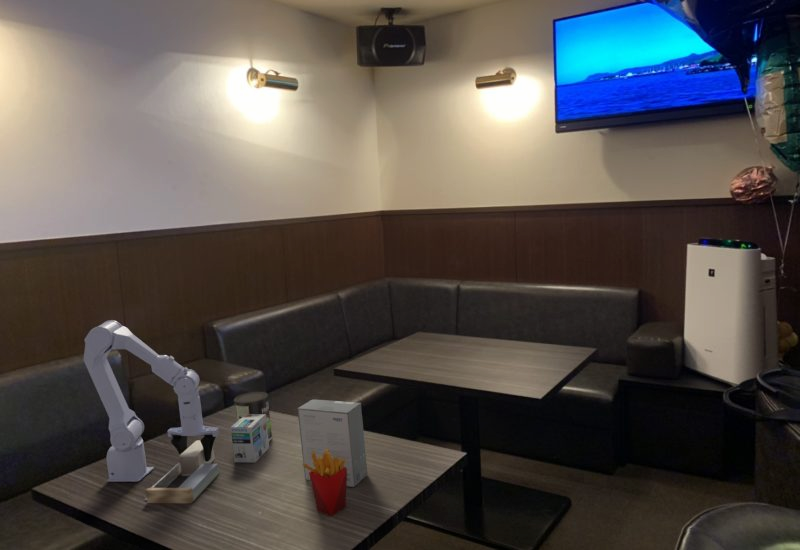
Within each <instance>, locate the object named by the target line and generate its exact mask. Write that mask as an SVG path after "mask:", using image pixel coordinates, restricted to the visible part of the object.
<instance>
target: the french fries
mask: <svg viewBox="0 0 800 550" xmlns="http://www.w3.org/2000/svg"><path fill="white" fill-rule="evenodd" d="M329 451H330V450H328V449H326V451H325V452H323V457H322V458H321V457H318V458H317V459H316V455H315V452H314V451H313V452H311V455H312V458H313V461H314V463H313V465H314V466H315V469H313V468H311V467H310V466H308V465H307V464H305V463H302V464H301V466H302V467H303V468H304V467H305V468H307V469H308V470H310V472H309V475H310V479H311V480H310V483H311V484H310V485H311V487H312V494H313V497H314V501H315V505H316V506H315V507H316V510H317V511H318V512H319V513H323V514H325V515H326V516H329V517H333V516H335V515H336V514H338V513H339V512H340V511H342V510H344V509H346V508H347V487H348V486H347V468H345V467H343V466H344V462H345V458H342V459H341V460H340V461H339V460H338V459H337V458H338V457H337V455H336V456H334V462H333V459H332V457H331V455H329ZM338 461H339V462H338Z"/></svg>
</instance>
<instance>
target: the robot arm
mask: <svg viewBox="0 0 800 550" xmlns="http://www.w3.org/2000/svg"><path fill="white" fill-rule="evenodd" d="M112 350H126V351H128V352H130V353H131V354H133V355H134V356H135V357H138V358H139V359H140V360H142V361H143V362H145V363H146V364H149V366H150V367H151V372H152V373H153V374H155V375H156V376H158V377H159V378H161V379H162V380H163V381H165V383H167V384H169V385H170V386H172V387H173V391H174V393H175V394H176V395H177V399H178V400H177V402H178V408H179V417H180V427H170V428H169V429H168V430H167V437H168V438H172V439H170V443H171V444H172V446H174V448H175V449H176V451H177V452H178V454H179V455H180V454H182V453H183V452H184V451H185V450H186V449H187V448H188V437H202V438H201V439H200V442H201V444H202V446H203V450H204V456H205V461H209V460H210V459H211V453H212V447H213V448H214V443H215V440H216V437H218V436H219V434H220V430H219V429H220V428H219V427H215V426H207V425H204V422H203V414H202V413H203V412H202V406H201V398H200V397H201V396H200V391H199V387H198V386H199V384H200V381H201V380H200V376H199V374H198V373H197V372H196V371H195V370H193V369H189V368H188V367H187V366H185V367H184V366H182V365H181V364H179V363H178V361H176V360H175V357H173V356H172V355H170V356H169V355H167V354H158V353H157V352H156V351H155V350H154V349H152V348H151V347H150V346H149V345H147V344H146V343H145V342H143V341H142V340H141V339H140V338H139V337H137V336H136V335H135V334H134V333H132V331H130V329H129V328H128V327H126V326H124V325H122V324H121V323H120V322H118V321H117V320H113V319H111V320H106V321H104V322H102V324H100V325H98V326H95V327H94V328H93V327H92V329H91V330H90V331H88V334H86V336H85V337H84V353H83V362H84V364H85V366H86V369H87V372H88V374H89V376H90V378H91V380H92V382H93V385H94V387H95V389H96V391H97V393H98V396H99V398H100V401H101V402H102V405H103V407H104V408H105V411H106V413H107V416H108V418H109V421H108V431H109V433H110V441H109V442H110V444H111V446H110V447H109V449H108V450H107V453H106V465H107V472H108V479H107V482H109V483H111V482H115V483H117V482H118V483H119V482H120V483H121V482H122V483H123V482H124V483H126V482H127V483H128V482H133V483H134V482H136V483H137V482H140V481H141V480H142V479H143V478H145V477H146V476H147V475H148V474H150V472H152V471H153V470H154V469H155V468H154V466H147V459H146V458H147V457H146V452H145V445H144V444H145V443H144V440H143V438H142V435H143V433H144V432H145V431H144V430H145V424H144V422H143V421H142V419H140V418H139V417H138V415H136V412H135V411H134V410H132V409H130V408H129V405H128V403H127V401H126V399H125V397H124V395H123V392H122V390H121V388H120V385H119V383H118V380H117V379H116V376H115V374H114V372H113V369H112V367H111V364H110V363H109V360H108V356H109V354H110V352H111V351H112Z"/></svg>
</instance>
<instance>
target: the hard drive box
mask: <svg viewBox="0 0 800 550" xmlns="http://www.w3.org/2000/svg"><path fill="white" fill-rule="evenodd" d="M297 416H298V425H299V426H298V427H299V435H300V445H301V451H302V462H303V463H305V464H307V465H308V466H310V467H311V468H313V469H315V466H314V465H313V463H314V461H313V458H312V455H311V452H313V451H314V452H315V455H316V459H317V458H318V457H321V458H322V457H323V452H325V451H326V449H328V450H330V451H329V455H331V457H332V459H333V462H334V456H336V455H337V457H338V458H337V459H338V460H339V461H340V460H341V459H342V458H345V462H344V466H343V467H345V468H347V487H349V488H350V487H352V488H354V487H356V486H358V484H359V483H360V482H361V481H362V480H363V479H365V478H366V477H367V475H368V465H367V455H366V454H367V453H366V445H365V444H366V443H365V433H364V421H363V414H362V403H361V402H353V401H341V400H339V401H338V400H326V399H311V400H308V401H307V402H306V403H304V404H301V406H299V407H297ZM339 461H338V462H339ZM303 463H302V464H303ZM303 472H304V479H305V480H306V481H307V480H309V481H311V479H310V475H309V472H310V470H308V469H307V468H305V467H304V466H303Z"/></svg>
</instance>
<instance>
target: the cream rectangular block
mask: <svg viewBox="0 0 800 550" xmlns="http://www.w3.org/2000/svg"><path fill="white" fill-rule="evenodd" d="M200 440H201V439H200ZM200 440H199V439H198V440H195V441H193V443H192V444H190V445H189V447H188V446H187V449H186V450H185V451H184V452H183V453H182V454H180V455H179V456H178V457H179V463H180V465H181V476H190V475H192V474H193V473H194V472H195V471H196V470H197V469H198V468H199V467H200V466H201V465H202V464H213V461H215V460H216V458H215V452H214V451H215V450H214V446H213V447H212V453H211V459H210V460H209V461H205V456H204V450H203V446H202V444H201V442H200Z"/></svg>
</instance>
